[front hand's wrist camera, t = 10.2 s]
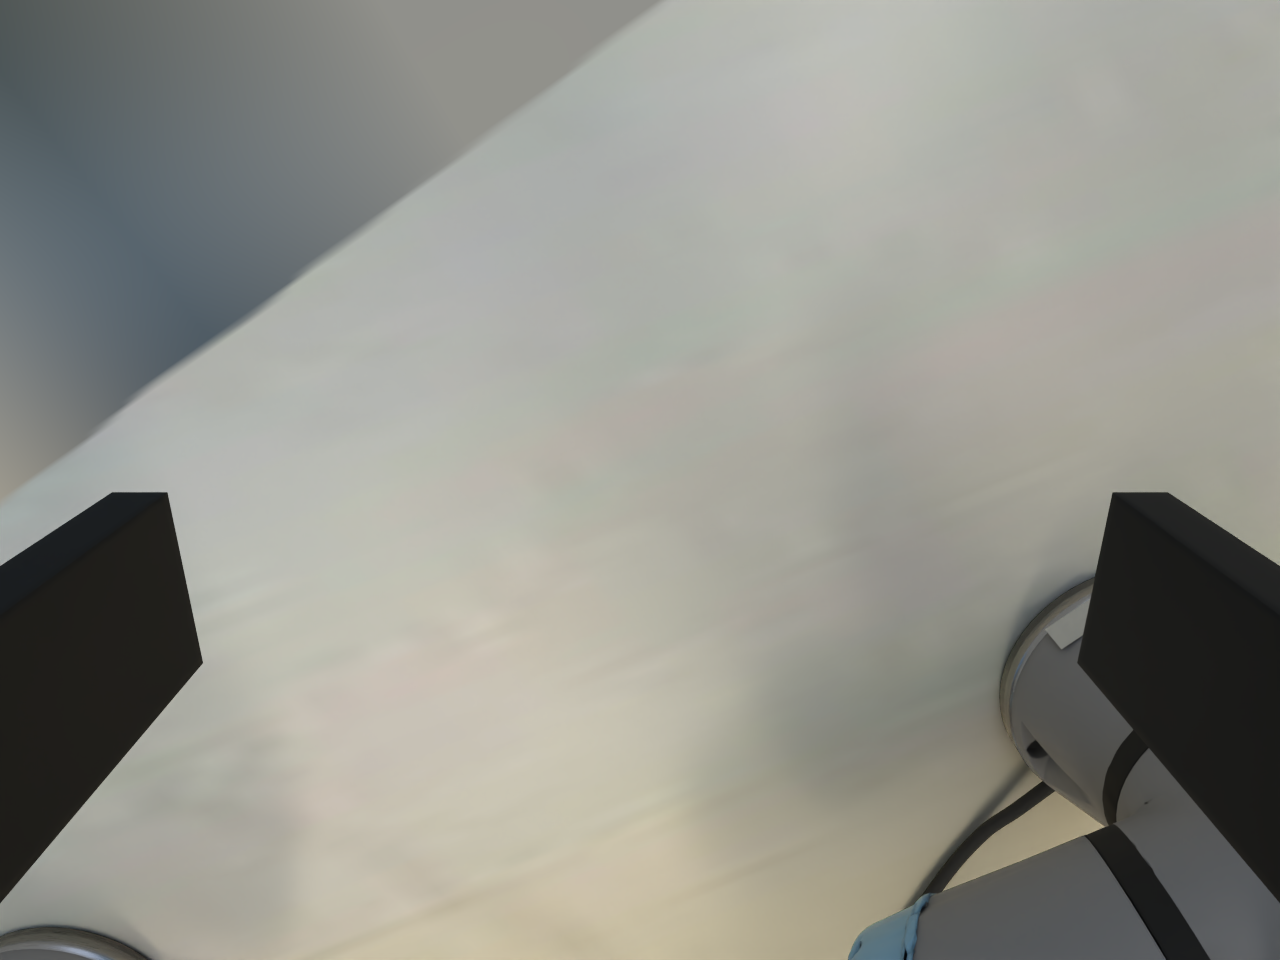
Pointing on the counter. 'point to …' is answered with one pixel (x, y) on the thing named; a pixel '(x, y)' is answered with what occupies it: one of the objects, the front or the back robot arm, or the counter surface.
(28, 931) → the back robot arm
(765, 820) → the counter surface
